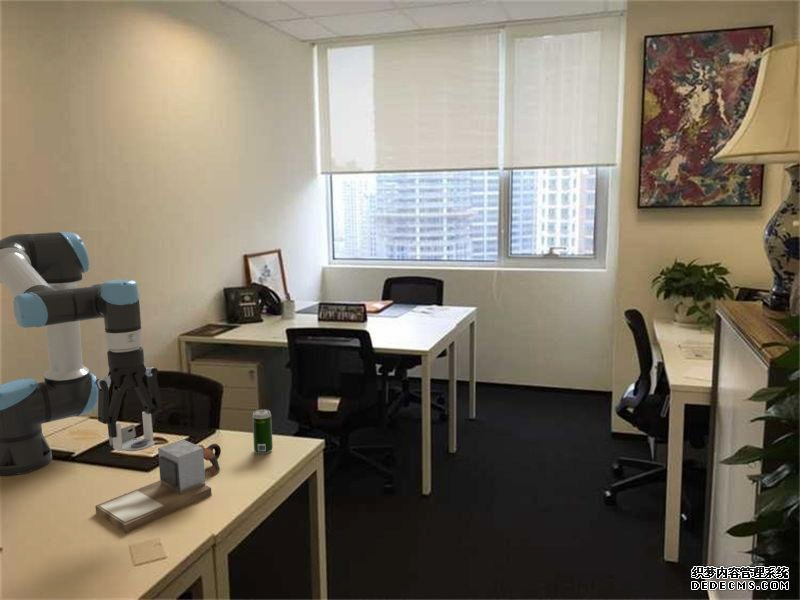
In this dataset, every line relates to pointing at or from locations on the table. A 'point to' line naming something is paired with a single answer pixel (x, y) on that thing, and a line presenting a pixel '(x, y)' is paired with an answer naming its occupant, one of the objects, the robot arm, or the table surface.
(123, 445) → the bracket
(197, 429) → the table surface
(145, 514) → the brown wooden flat board
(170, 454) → the grey box
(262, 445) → the beer can
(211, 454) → the pottery mug
